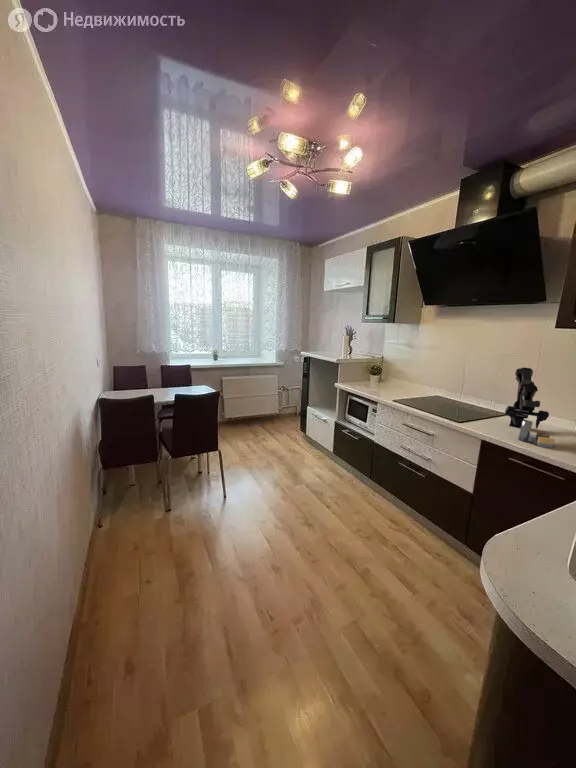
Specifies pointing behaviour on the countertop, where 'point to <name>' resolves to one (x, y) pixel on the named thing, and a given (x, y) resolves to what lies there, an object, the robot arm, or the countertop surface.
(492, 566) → the countertop surface
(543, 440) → the cart
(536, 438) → the collected block
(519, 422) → the robot arm
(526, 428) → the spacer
